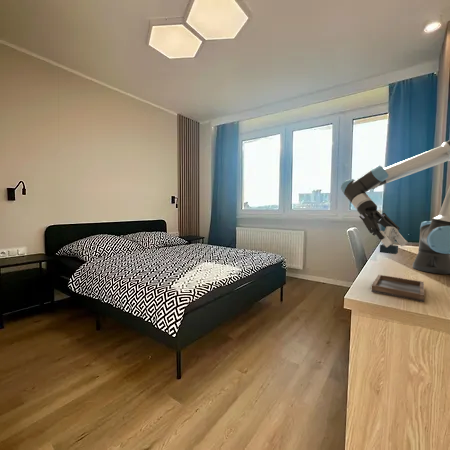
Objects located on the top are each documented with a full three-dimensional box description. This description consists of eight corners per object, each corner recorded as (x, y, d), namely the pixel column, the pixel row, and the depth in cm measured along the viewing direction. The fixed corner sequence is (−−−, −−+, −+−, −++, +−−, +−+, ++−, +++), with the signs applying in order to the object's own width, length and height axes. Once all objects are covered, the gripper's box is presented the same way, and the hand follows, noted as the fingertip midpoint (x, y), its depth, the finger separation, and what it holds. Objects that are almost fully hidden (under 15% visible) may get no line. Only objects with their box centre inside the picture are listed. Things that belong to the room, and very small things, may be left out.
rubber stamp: (398, 252, 103) (400, 226, 102) (394, 254, 98) (396, 227, 97) (383, 250, 107) (384, 225, 106) (378, 252, 102) (379, 226, 101)
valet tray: (378, 279, 98) (378, 274, 98) (423, 287, 89) (423, 281, 89) (371, 291, 84) (371, 285, 83) (423, 302, 75) (424, 295, 75)
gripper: (375, 211, 119) (407, 249, 105) (342, 210, 112) (371, 251, 98) (386, 200, 114) (421, 238, 100) (352, 199, 107) (385, 240, 93)
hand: (396, 244), depth 99 cm, fingers closed on rubber stamp, 8 cm apart
